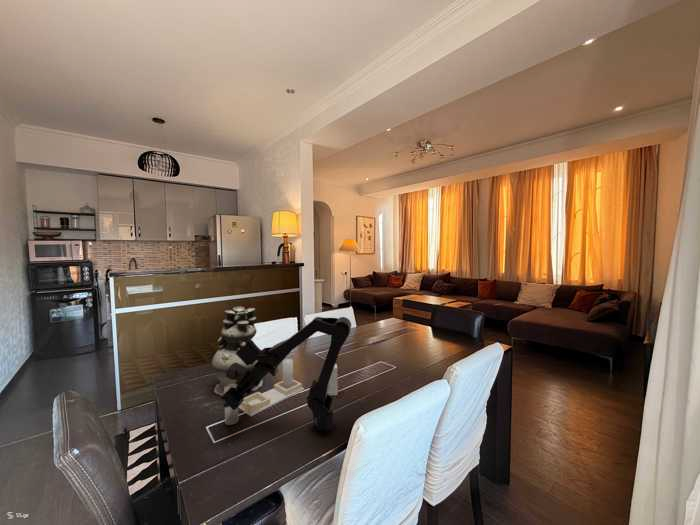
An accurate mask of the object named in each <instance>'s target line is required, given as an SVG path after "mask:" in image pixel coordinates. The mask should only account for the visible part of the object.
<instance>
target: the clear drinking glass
mask: <svg viewBox="0 0 700 525" xmlns="http://www.w3.org/2000/svg"><path fill="white" fill-rule="evenodd" d="M237 386H238V385H237V384H229V385H226V386H225V387H224V394H225V393H226V392H227V391H228V390H229V389H230V388H231V387H234V388H235V389H236V387H237ZM236 390H237V389H236ZM237 391H238V390H237ZM238 421H239V407H238V408H237V409H236V410H233V409H232V408H231V407H226V408H224V423H225V425H228V426H229V425H230V426H232V425H235V424H237V423H238Z"/></svg>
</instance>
